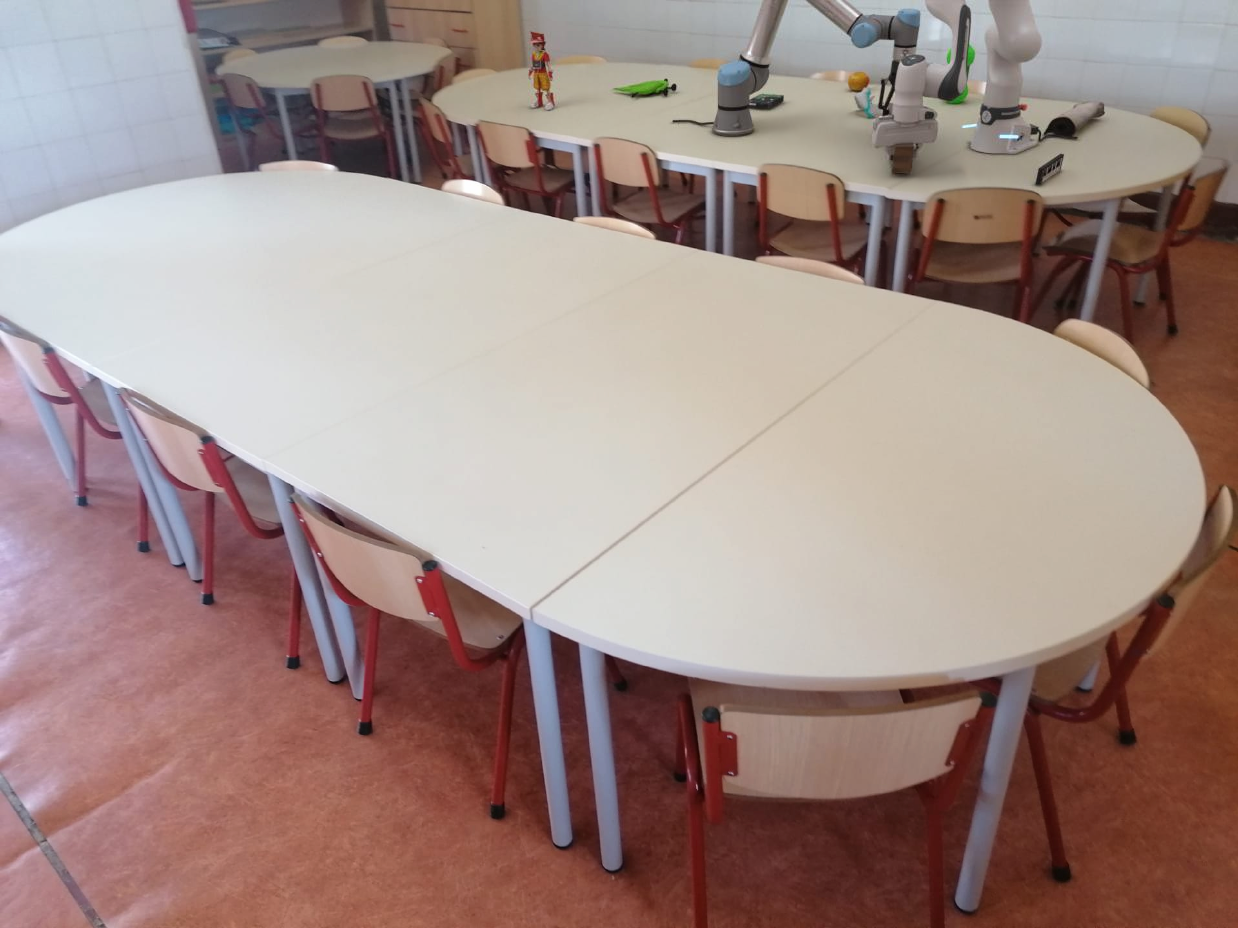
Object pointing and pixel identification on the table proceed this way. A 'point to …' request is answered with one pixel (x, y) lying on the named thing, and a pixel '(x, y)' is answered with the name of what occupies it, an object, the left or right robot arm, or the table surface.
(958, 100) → the plastic bottle
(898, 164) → the post
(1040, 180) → the midi keyboard
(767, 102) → the disk drive
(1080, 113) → the rolled mat
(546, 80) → the toy
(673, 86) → the toy
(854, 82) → the fruit
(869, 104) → the anatomical model
